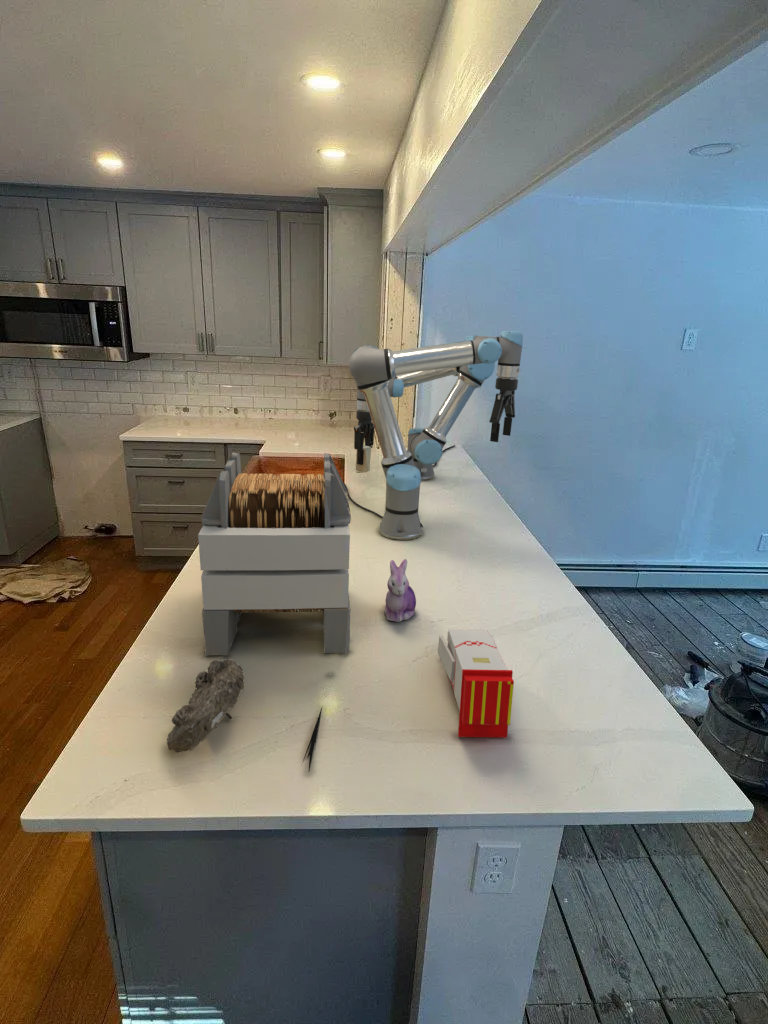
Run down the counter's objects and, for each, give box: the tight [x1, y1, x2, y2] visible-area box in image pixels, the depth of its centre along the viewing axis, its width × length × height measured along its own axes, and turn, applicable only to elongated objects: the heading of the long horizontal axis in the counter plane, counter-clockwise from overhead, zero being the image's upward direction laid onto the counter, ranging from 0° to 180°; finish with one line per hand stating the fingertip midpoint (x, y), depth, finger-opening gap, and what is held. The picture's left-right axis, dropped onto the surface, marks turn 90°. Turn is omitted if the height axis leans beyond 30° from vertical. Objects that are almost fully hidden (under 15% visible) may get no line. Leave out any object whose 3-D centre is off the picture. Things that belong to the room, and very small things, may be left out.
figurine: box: [384, 558, 417, 623], centre depth 145 cm, size 9×10×15 cm
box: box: [355, 444, 372, 474], centre depth 249 cm, size 5×4×11 cm
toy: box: [437, 628, 515, 738], centre depth 117 cm, size 12×13×30 cm
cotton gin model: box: [197, 451, 352, 657], centre depth 136 cm, size 34×33×41 cm
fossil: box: [166, 658, 245, 754], centre depth 106 cm, size 22×10×15 cm
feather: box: [301, 673, 332, 771], centre depth 108 cm, size 2×28×2 cm
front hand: (500, 438), depth 203 cm, fingers open, 13 cm apart
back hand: (363, 463), depth 250 cm, fingers closed on box, 4 cm apart
